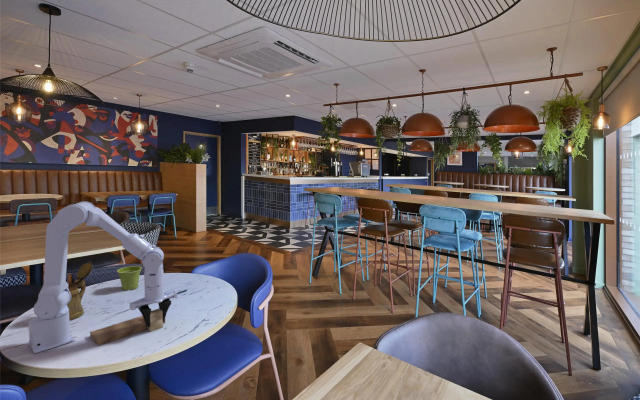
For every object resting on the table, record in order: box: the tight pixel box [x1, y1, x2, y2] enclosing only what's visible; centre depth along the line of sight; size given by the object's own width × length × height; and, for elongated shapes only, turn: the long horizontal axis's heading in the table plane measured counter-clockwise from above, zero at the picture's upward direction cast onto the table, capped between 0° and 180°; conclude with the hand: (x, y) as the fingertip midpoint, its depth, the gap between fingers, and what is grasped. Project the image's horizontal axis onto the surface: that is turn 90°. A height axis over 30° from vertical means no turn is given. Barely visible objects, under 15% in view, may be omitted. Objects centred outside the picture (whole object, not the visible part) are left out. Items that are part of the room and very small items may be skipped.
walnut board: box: [89, 315, 166, 346], centre depth 106 cm, size 20×8×2 cm, turn 140°
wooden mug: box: [67, 260, 93, 321], centre depth 116 cm, size 9×14×18 cm, turn 161°
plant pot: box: [116, 265, 143, 291], centre depth 142 cm, size 9×9×9 cm
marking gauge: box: [146, 308, 164, 332], centre depth 109 cm, size 4×8×6 cm, turn 50°
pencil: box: [176, 289, 188, 295], centre depth 135 cm, size 1×1×15 cm
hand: (155, 323), depth 107 cm, fingers closed on marking gauge, 4 cm apart
